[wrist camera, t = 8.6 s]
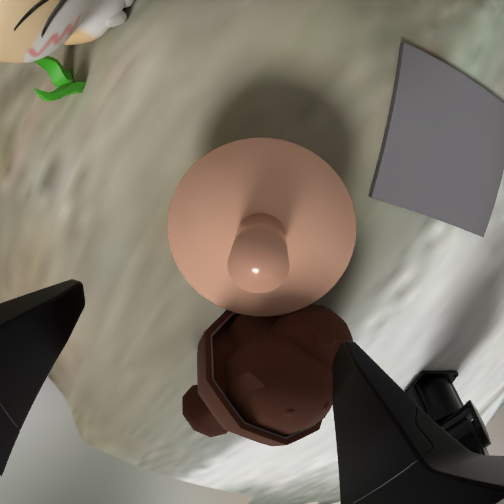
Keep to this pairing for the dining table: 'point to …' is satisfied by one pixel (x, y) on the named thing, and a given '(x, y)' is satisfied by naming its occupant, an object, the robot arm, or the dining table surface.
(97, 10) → the kitten
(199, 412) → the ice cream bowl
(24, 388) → the robot arm
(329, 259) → the lid
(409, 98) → the mat
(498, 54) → the dining table surface
